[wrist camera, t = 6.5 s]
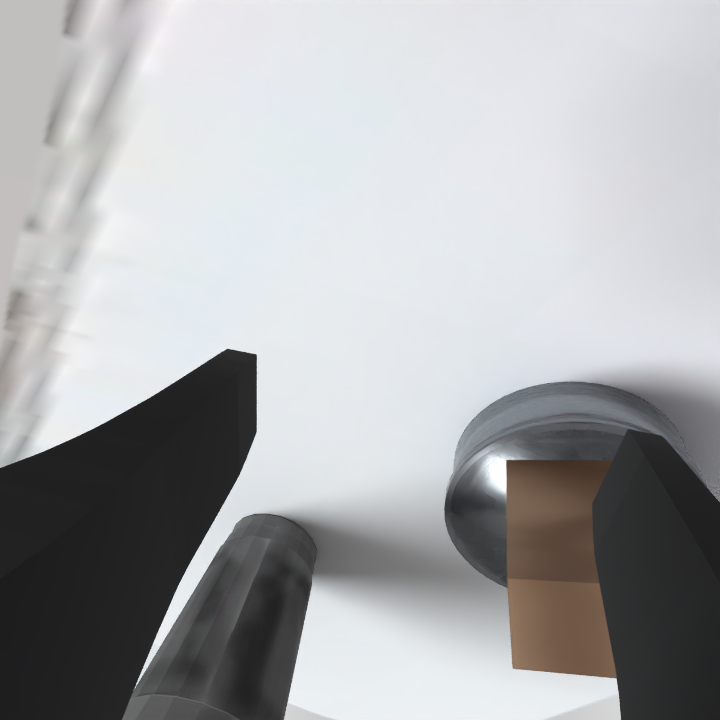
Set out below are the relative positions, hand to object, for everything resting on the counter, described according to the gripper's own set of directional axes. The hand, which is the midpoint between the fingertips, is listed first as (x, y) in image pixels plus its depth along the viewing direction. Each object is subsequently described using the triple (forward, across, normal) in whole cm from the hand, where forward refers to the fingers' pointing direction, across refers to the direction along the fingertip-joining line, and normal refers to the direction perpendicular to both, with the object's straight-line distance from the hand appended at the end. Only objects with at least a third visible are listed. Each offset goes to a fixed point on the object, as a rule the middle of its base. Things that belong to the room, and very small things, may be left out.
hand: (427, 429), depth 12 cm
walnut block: (+7, -6, +8) cm, 12 cm away
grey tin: (+10, -6, +9) cm, 15 cm away
